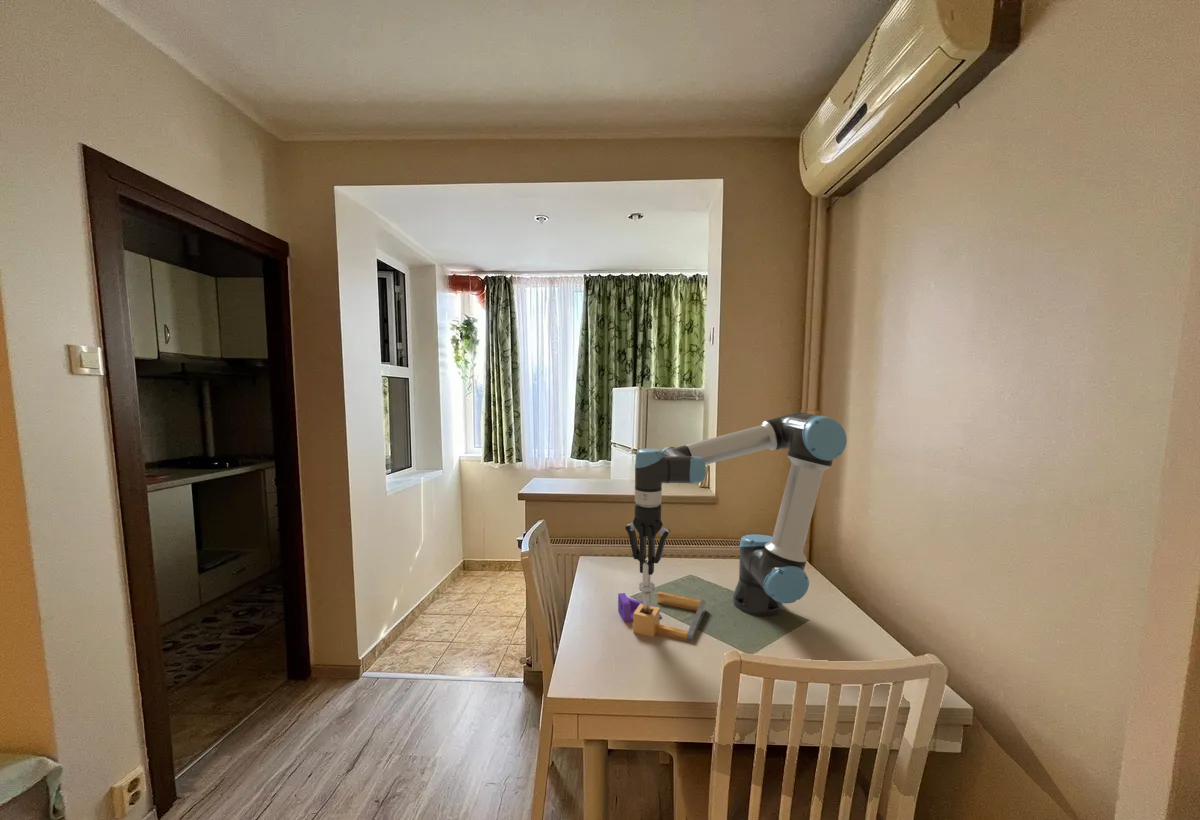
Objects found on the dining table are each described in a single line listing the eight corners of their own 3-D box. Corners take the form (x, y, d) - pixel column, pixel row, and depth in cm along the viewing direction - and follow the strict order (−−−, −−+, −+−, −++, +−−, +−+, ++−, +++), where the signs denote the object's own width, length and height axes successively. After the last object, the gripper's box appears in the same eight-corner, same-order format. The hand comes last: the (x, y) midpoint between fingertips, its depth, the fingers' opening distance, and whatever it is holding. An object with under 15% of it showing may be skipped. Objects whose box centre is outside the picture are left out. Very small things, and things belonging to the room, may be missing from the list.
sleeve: (659, 630, 128) (659, 607, 127) (653, 642, 123) (653, 618, 122) (639, 625, 130) (640, 603, 130) (633, 636, 125) (633, 613, 124)
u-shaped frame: (705, 611, 138) (706, 601, 138) (692, 647, 120) (692, 635, 120) (658, 601, 145) (658, 591, 144) (638, 634, 126) (638, 622, 126)
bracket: (624, 626, 131) (624, 604, 130) (618, 614, 137) (618, 593, 137) (661, 622, 133) (662, 600, 133) (654, 610, 140) (654, 589, 139)
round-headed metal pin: (656, 613, 127) (656, 583, 126) (651, 621, 123) (652, 589, 122) (641, 610, 129) (642, 580, 128) (636, 617, 125) (637, 586, 124)
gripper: (621, 504, 123) (620, 585, 125) (666, 510, 117) (665, 594, 119) (630, 497, 129) (629, 574, 131) (673, 503, 124) (672, 583, 126)
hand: (646, 584), depth 125 cm, fingers closed, pressing on round-headed metal pin
